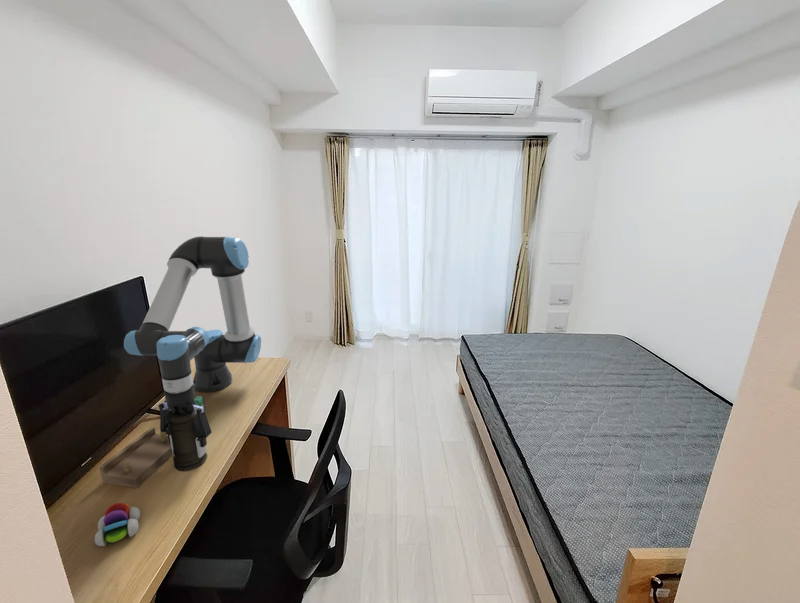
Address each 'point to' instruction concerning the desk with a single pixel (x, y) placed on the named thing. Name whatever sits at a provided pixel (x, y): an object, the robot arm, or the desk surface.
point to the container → (184, 442)
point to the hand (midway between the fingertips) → (189, 452)
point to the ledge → (137, 460)
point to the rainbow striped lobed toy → (117, 523)
